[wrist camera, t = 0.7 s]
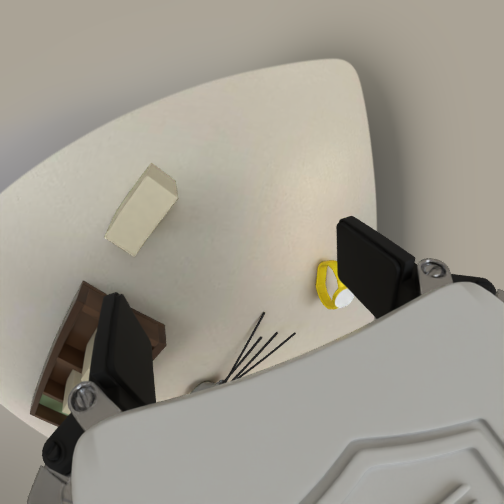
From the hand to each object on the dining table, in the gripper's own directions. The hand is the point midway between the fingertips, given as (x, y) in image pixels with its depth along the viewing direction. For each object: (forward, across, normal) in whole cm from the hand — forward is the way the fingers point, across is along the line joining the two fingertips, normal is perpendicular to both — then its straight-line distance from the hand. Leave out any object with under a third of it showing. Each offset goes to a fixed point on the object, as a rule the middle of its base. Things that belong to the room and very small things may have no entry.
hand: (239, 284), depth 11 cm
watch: (+17, -12, +16) cm, 26 cm away
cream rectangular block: (+17, +5, 0) cm, 18 cm away
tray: (+17, +25, +20) cm, 36 cm away
